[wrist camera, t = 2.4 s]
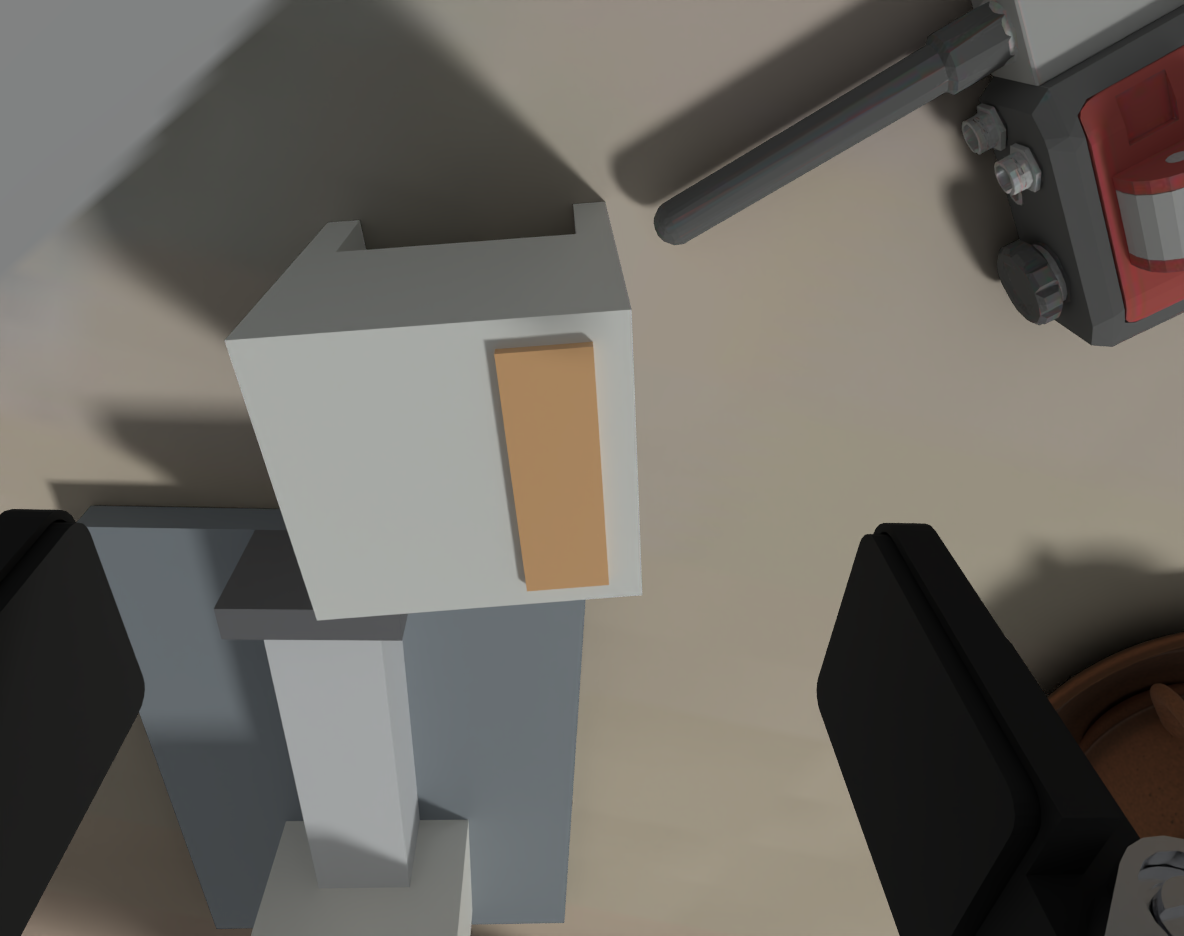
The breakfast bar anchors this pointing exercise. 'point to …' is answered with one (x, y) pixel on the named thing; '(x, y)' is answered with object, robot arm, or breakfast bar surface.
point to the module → (450, 419)
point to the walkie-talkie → (1029, 152)
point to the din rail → (243, 740)
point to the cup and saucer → (1134, 730)
